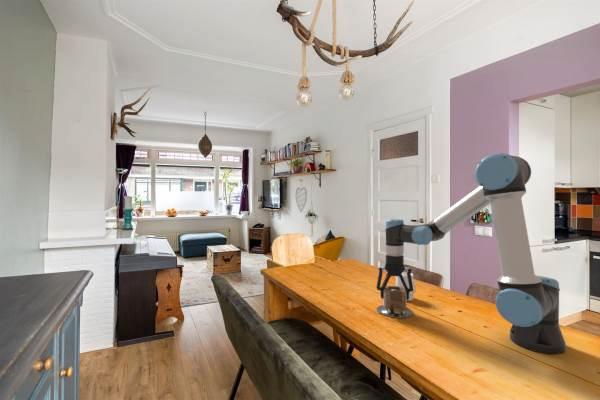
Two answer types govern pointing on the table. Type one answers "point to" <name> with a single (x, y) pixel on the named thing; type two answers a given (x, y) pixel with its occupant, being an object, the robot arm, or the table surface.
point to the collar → (395, 299)
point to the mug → (399, 283)
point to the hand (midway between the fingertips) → (394, 306)
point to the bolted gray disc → (391, 313)
